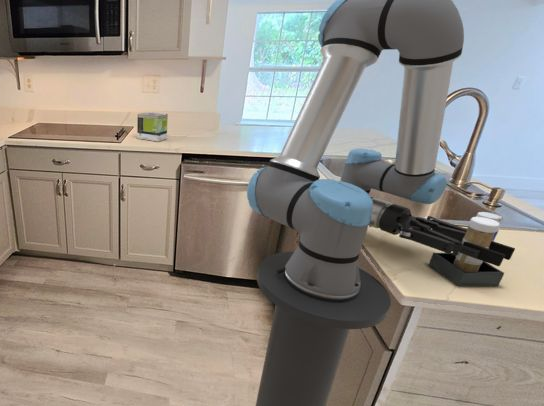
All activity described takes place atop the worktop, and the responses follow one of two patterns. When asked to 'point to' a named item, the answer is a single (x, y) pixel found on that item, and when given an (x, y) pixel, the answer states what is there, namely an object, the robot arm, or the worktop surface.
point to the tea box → (152, 126)
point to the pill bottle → (490, 216)
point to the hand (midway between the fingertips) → (506, 257)
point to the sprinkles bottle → (476, 241)
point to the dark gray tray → (483, 277)
